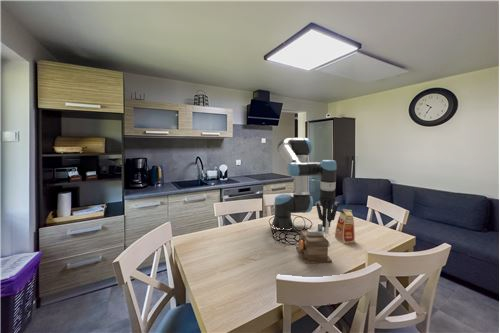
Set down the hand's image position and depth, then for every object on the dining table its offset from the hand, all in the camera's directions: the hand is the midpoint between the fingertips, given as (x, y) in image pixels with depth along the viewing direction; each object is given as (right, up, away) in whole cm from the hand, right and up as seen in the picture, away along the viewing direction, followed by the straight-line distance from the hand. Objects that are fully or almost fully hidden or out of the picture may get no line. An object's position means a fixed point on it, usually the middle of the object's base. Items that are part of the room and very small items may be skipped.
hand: (326, 232), depth 116 cm
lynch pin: (-6, -9, 0) cm, 11 cm away
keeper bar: (-6, -1, 0) cm, 6 cm away
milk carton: (+19, -11, +20) cm, 30 cm away
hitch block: (-7, -12, +1) cm, 14 cm away
